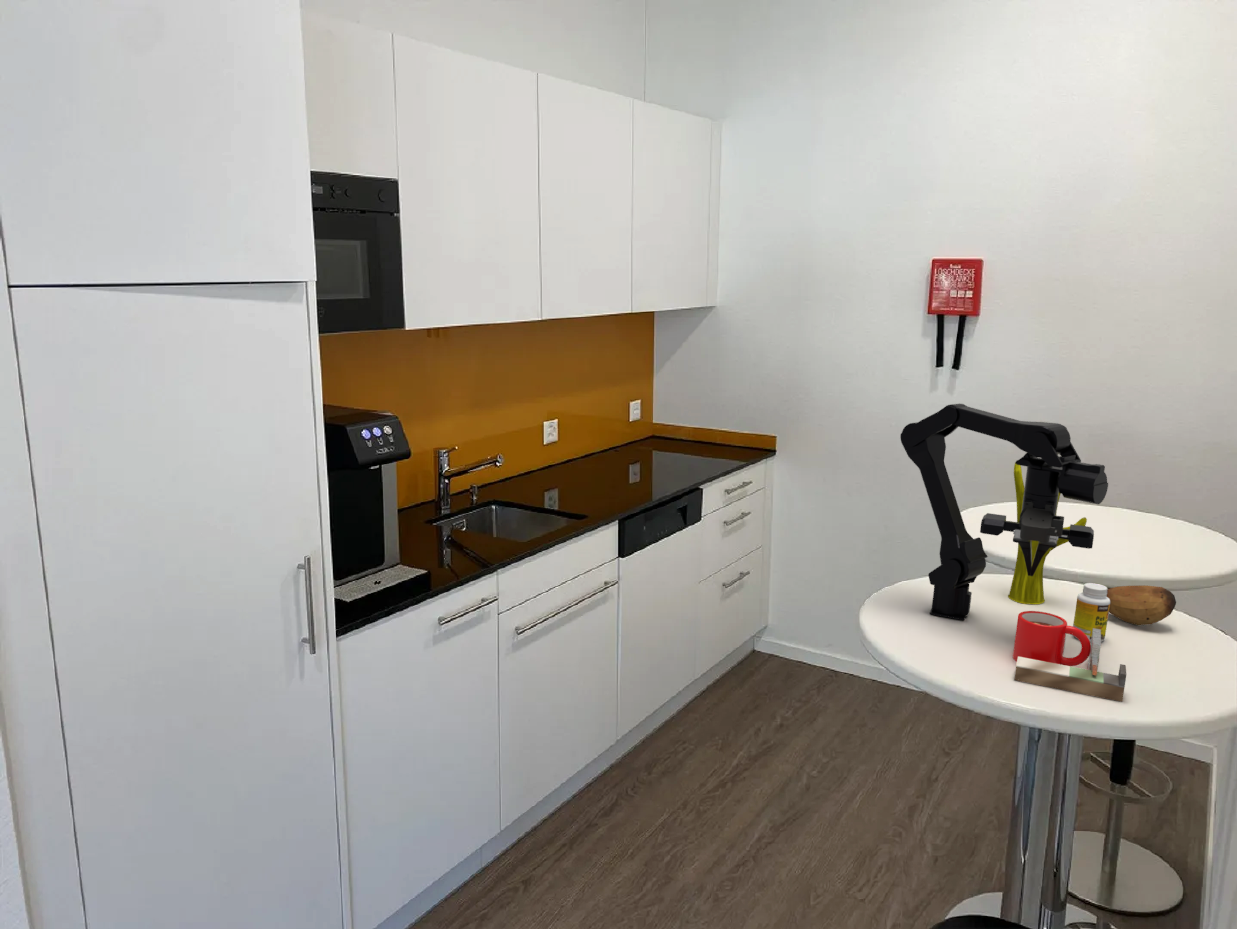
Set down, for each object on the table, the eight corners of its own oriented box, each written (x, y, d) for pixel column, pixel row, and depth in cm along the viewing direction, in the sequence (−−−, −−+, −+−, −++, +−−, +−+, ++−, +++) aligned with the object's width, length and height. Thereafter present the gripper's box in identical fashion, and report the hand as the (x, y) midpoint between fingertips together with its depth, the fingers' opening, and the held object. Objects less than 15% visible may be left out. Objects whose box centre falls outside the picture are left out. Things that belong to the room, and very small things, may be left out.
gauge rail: (1014, 680, 158) (1017, 654, 157) (1016, 670, 162) (1019, 645, 161) (1122, 701, 152) (1126, 674, 151) (1121, 691, 156) (1125, 665, 155)
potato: (1101, 633, 190) (1104, 602, 195) (1179, 634, 182) (1180, 602, 188) (1094, 608, 187) (1097, 578, 192) (1173, 609, 179) (1174, 576, 184)
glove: (992, 596, 200) (1009, 456, 194) (1005, 587, 207) (1022, 451, 201) (1067, 614, 191) (1087, 468, 185) (1078, 605, 197) (1098, 462, 191)
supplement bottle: (1093, 646, 175) (1101, 592, 173) (1065, 636, 179) (1072, 584, 177) (1110, 640, 178) (1118, 588, 176) (1082, 630, 182) (1089, 579, 180)
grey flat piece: (1088, 690, 155) (1093, 655, 154) (1088, 660, 167) (1092, 628, 166) (1096, 692, 154) (1101, 657, 153) (1095, 662, 167) (1100, 629, 165)
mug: (1085, 680, 160) (1092, 635, 158) (1009, 663, 165) (1014, 620, 164) (1089, 664, 166) (1095, 621, 165) (1016, 649, 172) (1021, 607, 171)
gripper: (982, 494, 169) (972, 578, 172) (1098, 509, 161) (1086, 597, 165) (988, 483, 179) (978, 562, 182) (1098, 496, 171) (1086, 579, 174)
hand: (1030, 575), depth 176 cm, fingers closed
